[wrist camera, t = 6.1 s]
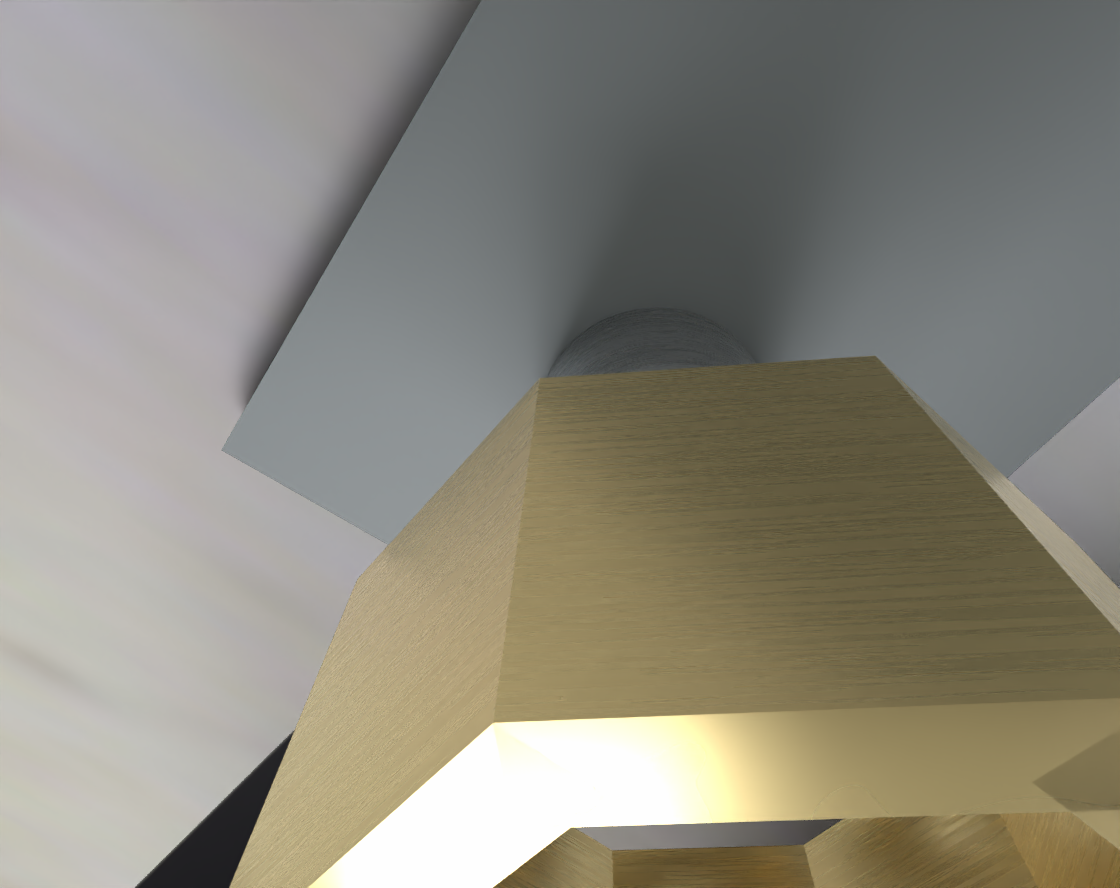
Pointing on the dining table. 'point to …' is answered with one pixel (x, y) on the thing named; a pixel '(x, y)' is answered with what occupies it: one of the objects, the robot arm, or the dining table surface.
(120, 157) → the dining table surface
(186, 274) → the dining table surface
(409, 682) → the brass ring
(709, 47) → the fit board
